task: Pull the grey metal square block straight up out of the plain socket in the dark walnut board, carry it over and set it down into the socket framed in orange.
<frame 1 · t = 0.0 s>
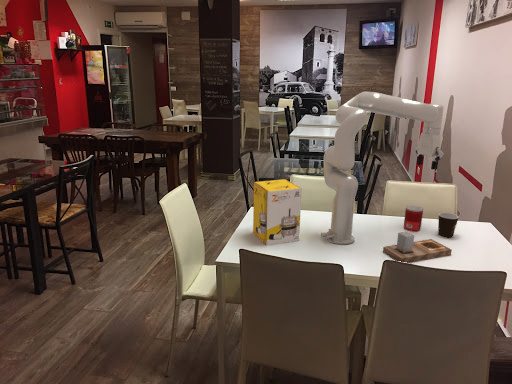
hand: (426, 166, 199), 31 cm above the table, tool pointing down, fingers open, 9 cm apart
canned food: (411, 229, 206), on the table
metal block: (403, 255, 176), resting in socket board
packaging box: (275, 236, 194), on the table
socket board: (416, 253, 179), on the table
coffee mug: (447, 235, 199), on the table
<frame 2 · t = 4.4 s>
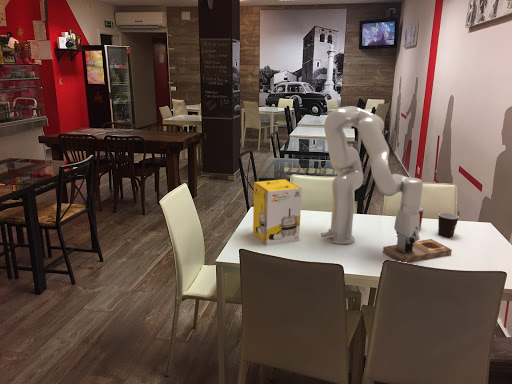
hand: (404, 248, 175), 3 cm above the table, tool pointing down, fingers closed on metal block, 4 cm apart
metal block: (403, 255, 176), resting in socket board, touching gripper
everything else where it was.
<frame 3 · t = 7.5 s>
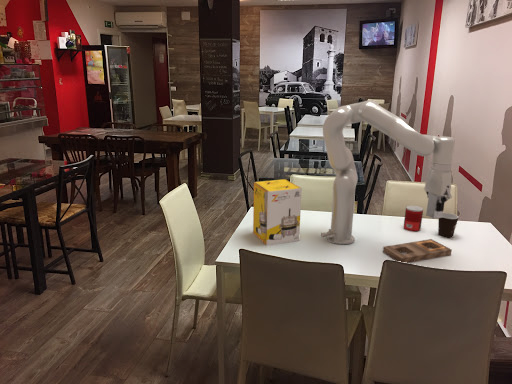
hand: (435, 208, 175), 20 cm above the table, tool pointing down, fingers closed on metal block, 4 cm apart
metal block: (434, 216, 176), point 16 cm above the table, touching gripper
everything else where it was.
when the fingers open (5 cm above the table, at t = 10.7 s): metal block drops 1 cm, resting in socket board.
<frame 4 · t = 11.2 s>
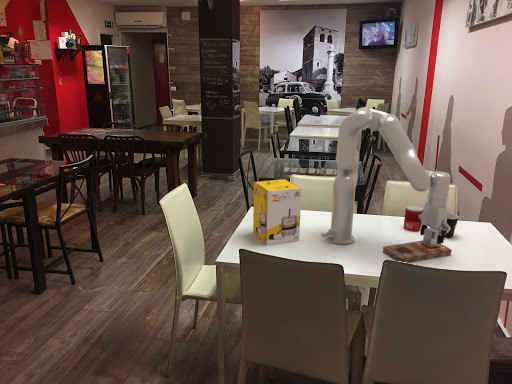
hand: (431, 238, 179), 6 cm above the table, tool pointing down, fingers open, 9 cm apart
metal block: (429, 251, 181), resting in socket board
everything else where it was.
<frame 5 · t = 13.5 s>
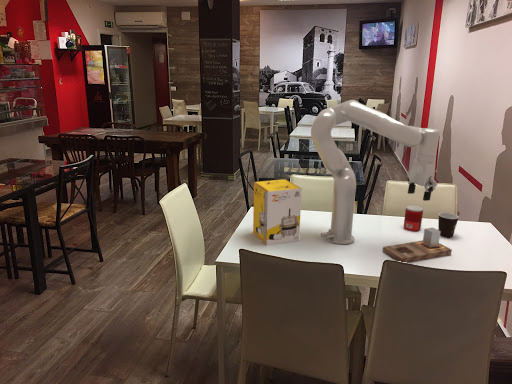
hand: (418, 196, 180), 23 cm above the table, tool pointing down, fingers open, 9 cm apart
nothing on the table moved.
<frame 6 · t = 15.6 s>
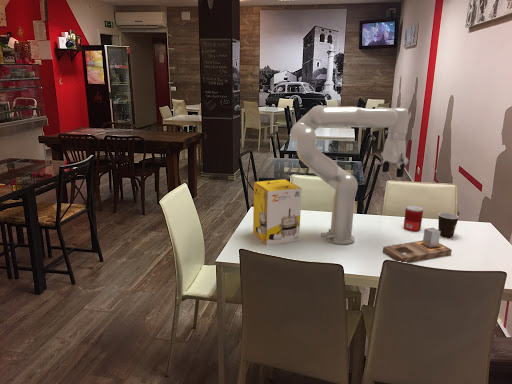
hand: (392, 174, 187), 30 cm above the table, tool pointing down, fingers open, 9 cm apart
nothing on the table moved.
at the end: metal block 0.1 cm from the target spot on the socket board, point 0.0 cm above the socket board's base; metal block tilted 0°; the gripper is holding nothing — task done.
